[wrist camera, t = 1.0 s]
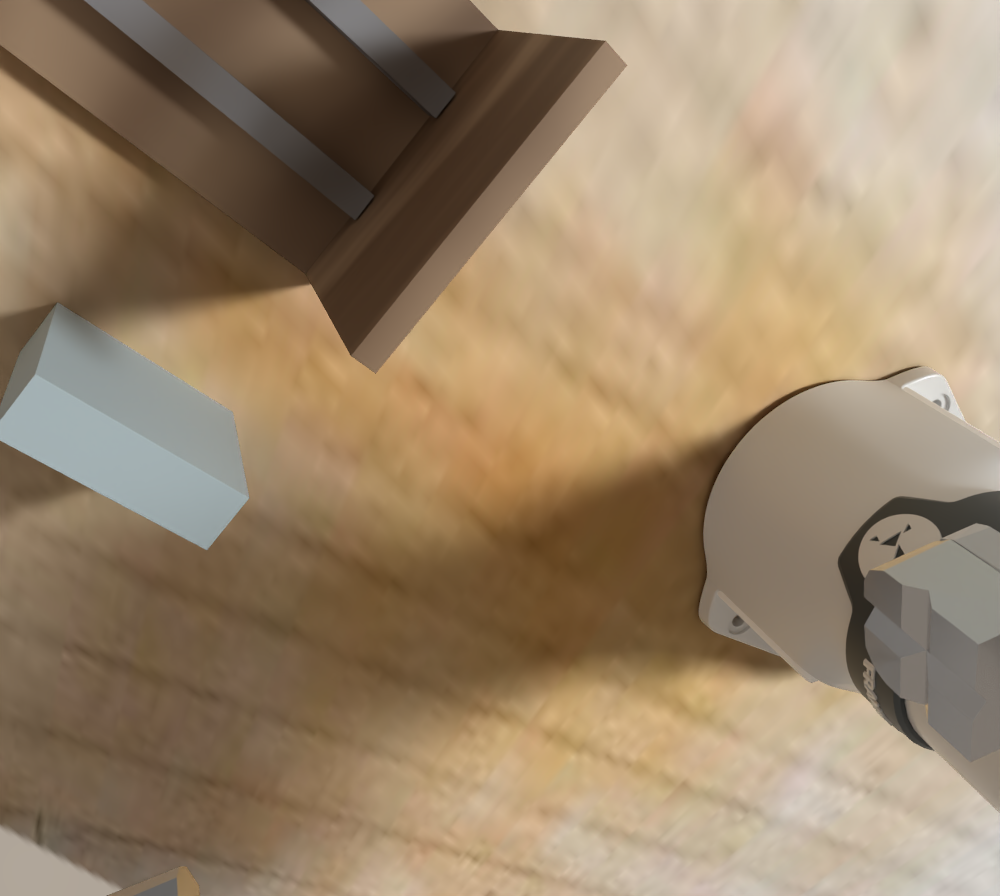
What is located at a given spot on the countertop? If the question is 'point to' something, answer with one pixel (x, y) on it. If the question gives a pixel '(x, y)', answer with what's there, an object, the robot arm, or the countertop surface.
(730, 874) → the countertop surface
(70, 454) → the door panel
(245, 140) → the cabinet
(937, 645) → the robot arm
